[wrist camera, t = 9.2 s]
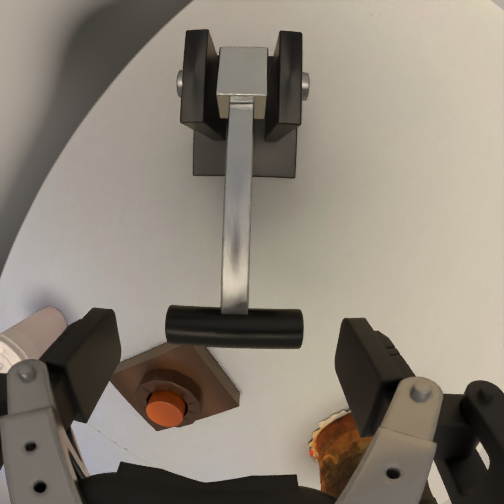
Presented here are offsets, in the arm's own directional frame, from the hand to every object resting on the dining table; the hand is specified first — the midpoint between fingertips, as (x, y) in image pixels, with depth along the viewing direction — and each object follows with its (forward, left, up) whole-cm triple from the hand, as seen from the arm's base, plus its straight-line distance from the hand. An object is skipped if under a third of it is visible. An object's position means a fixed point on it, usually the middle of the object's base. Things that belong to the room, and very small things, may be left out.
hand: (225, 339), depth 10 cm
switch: (+2, +4, -5) cm, 7 cm away
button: (-14, -11, -13) cm, 22 cm away
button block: (-14, -11, -17) cm, 24 cm away
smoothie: (-23, +1, -17) cm, 28 cm away
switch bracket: (+5, +8, -17) cm, 19 cm away
